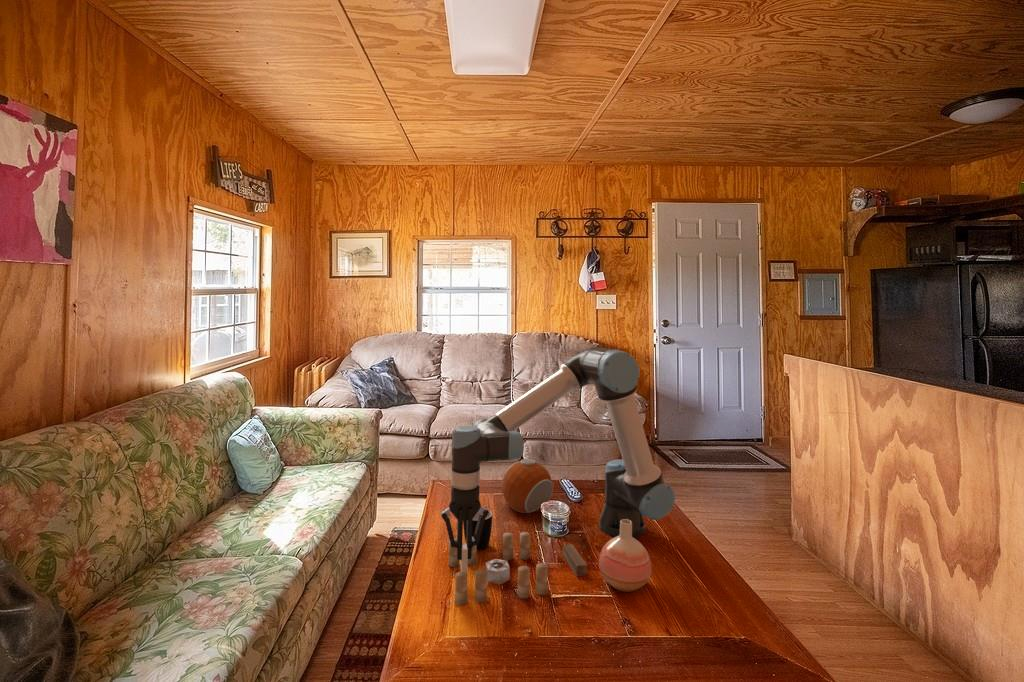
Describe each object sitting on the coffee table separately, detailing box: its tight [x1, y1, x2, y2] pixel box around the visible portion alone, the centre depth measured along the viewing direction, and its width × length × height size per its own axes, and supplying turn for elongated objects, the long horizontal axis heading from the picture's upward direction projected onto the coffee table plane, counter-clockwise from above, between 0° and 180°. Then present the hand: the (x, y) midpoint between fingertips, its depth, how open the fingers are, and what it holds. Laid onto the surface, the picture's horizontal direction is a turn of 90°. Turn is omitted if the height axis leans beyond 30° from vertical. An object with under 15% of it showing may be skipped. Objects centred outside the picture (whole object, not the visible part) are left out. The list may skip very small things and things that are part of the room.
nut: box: [485, 558, 511, 585], centre depth 131 cm, size 6×7×4 cm
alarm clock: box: [501, 458, 555, 514], centre depth 179 cm, size 19×18×17 cm
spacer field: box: [448, 531, 549, 606], centre depth 131 cm, size 24×22×7 cm
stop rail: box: [561, 543, 588, 577], centre depth 138 cm, size 3×12×3 cm, turn 13°
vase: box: [598, 519, 652, 593], centre depth 128 cm, size 14×14×18 cm
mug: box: [463, 509, 493, 552], centre depth 150 cm, size 12×9×10 cm
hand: (463, 570), depth 129 cm, fingers closed
